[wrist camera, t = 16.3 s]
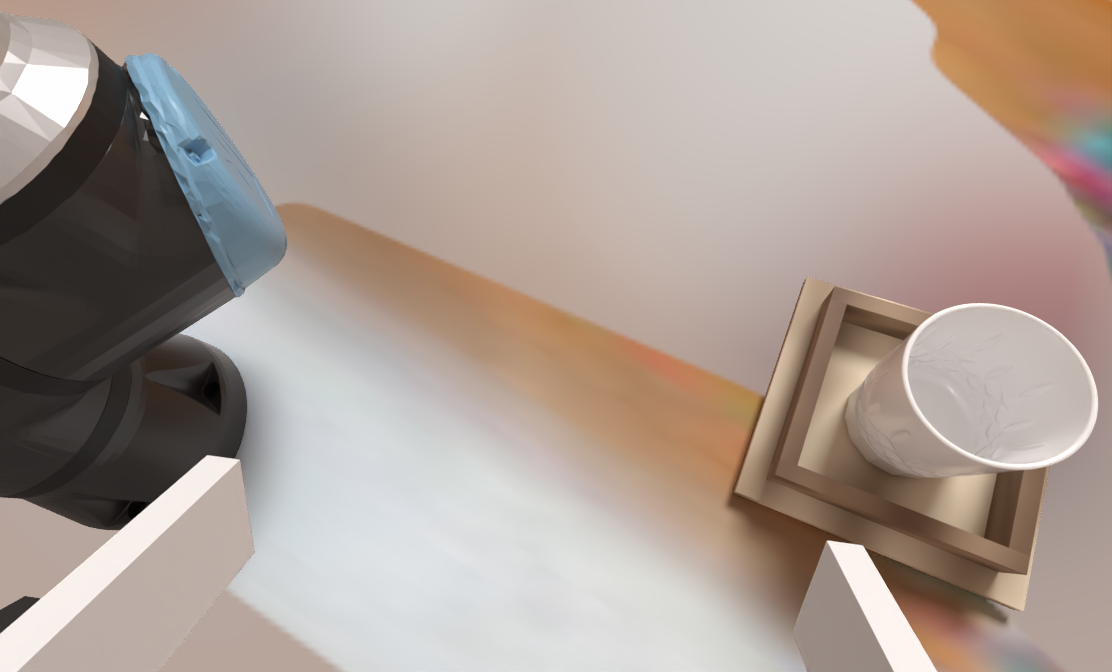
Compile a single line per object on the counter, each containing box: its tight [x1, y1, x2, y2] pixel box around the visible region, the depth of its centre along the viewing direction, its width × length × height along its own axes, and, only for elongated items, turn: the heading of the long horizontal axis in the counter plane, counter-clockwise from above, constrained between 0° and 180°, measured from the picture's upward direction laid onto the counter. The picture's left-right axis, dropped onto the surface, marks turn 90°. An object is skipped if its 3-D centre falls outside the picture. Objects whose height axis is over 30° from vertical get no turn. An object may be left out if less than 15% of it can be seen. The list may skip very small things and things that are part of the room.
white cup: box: [844, 303, 1098, 479], centre depth 29 cm, size 8×8×10 cm
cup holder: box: [733, 277, 1050, 611], centre depth 33 cm, size 16×16×4 cm
